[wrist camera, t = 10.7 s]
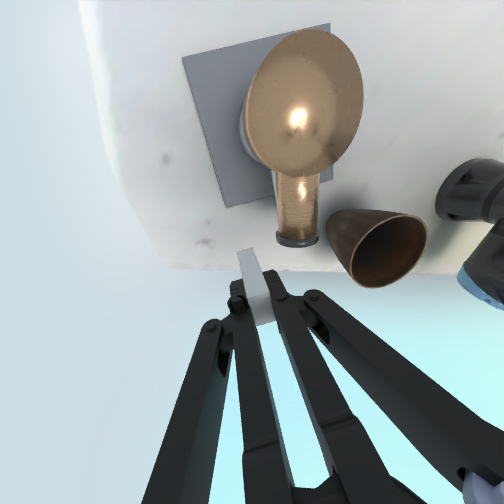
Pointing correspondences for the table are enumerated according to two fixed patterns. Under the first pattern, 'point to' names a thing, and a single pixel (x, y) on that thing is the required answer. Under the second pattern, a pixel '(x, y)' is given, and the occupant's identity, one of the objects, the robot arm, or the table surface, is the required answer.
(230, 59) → the duct stub
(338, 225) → the plant pot
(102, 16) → the table surface
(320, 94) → the copper flat bottle shape
